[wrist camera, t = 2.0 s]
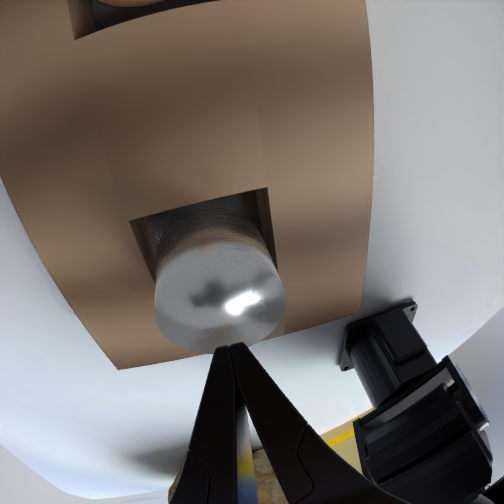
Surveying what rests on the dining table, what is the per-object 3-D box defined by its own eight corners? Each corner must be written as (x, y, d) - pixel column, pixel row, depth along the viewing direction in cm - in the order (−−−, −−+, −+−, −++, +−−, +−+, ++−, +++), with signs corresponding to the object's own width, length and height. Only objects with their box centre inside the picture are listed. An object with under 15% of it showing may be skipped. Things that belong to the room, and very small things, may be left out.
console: (338, 278, 19) (359, 312, 17) (121, 330, 18) (118, 369, 16) (297, -131, 5) (322, -157, 2) (-5, -58, 3) (-36, -70, 1)
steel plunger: (269, 283, 14) (290, 336, 12) (175, 305, 14) (178, 363, 11) (257, 196, 12) (281, 244, 9) (142, 224, 11) (133, 280, 9)
